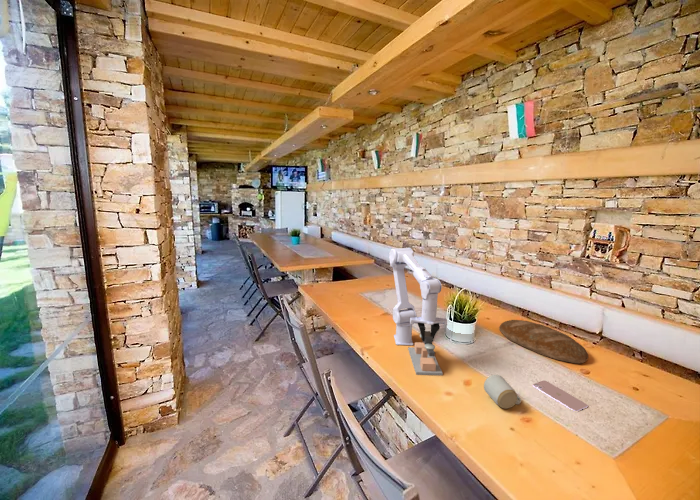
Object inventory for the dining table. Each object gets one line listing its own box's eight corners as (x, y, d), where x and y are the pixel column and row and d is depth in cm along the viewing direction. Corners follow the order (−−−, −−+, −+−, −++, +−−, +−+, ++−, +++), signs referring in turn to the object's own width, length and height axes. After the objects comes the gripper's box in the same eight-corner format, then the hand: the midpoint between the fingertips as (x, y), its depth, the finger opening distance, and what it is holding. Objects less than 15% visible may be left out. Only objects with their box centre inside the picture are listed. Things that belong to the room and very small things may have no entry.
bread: (515, 325, 159) (516, 310, 157) (598, 357, 127) (601, 339, 125) (488, 333, 148) (490, 317, 147) (571, 371, 116) (574, 351, 115)
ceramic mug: (497, 411, 94) (500, 389, 92) (482, 394, 102) (484, 374, 100) (527, 409, 95) (530, 387, 94) (510, 392, 103) (512, 372, 102)
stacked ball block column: (417, 335, 129) (418, 324, 128) (426, 335, 129) (427, 325, 128) (426, 356, 112) (427, 344, 112) (437, 356, 112) (438, 344, 111)
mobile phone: (575, 411, 93) (530, 383, 107) (575, 413, 93) (530, 386, 107) (590, 405, 96) (544, 379, 110) (589, 407, 96) (544, 381, 110)
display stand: (408, 349, 131) (408, 338, 130) (430, 350, 131) (431, 338, 130) (416, 374, 113) (416, 361, 112) (442, 375, 112) (443, 362, 111)
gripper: (412, 312, 114) (411, 344, 116) (450, 312, 114) (448, 345, 116) (409, 305, 121) (408, 336, 123) (445, 306, 121) (442, 337, 123)
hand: (427, 340), depth 120 cm, fingers closed on stacked ball block column, 3 cm apart
